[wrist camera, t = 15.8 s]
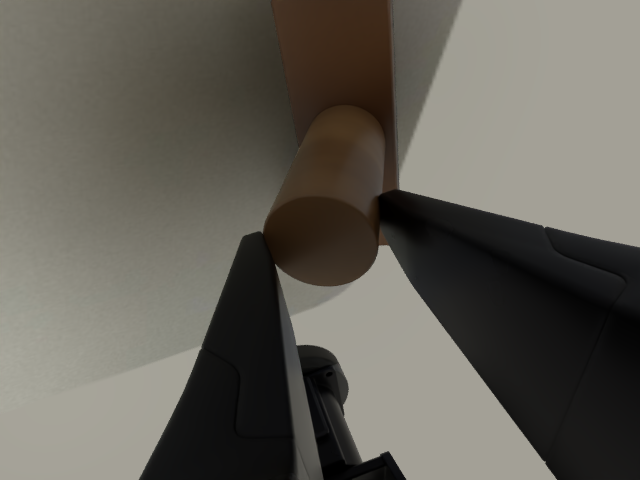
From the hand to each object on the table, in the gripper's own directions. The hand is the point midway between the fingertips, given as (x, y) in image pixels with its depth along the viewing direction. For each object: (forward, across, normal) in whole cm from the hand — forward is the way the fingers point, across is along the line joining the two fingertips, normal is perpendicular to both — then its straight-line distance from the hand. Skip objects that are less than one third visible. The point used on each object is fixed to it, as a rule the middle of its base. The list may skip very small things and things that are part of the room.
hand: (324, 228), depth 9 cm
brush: (+6, -3, 0) cm, 7 cm away
